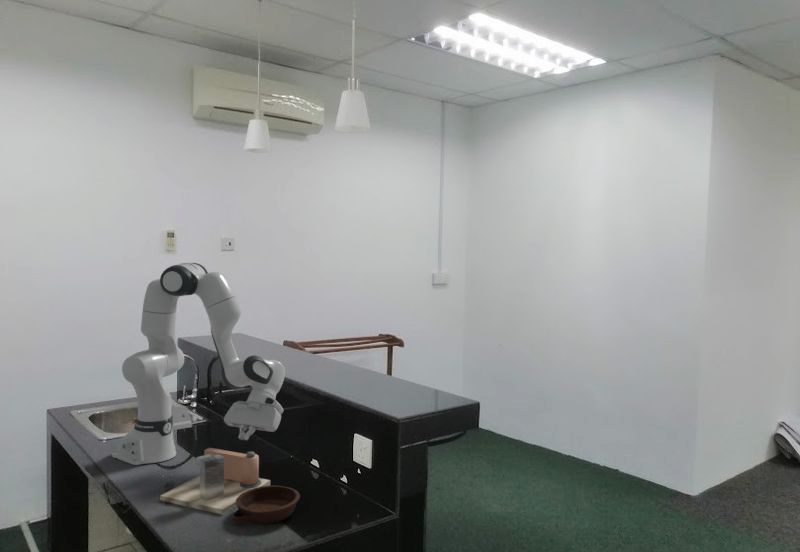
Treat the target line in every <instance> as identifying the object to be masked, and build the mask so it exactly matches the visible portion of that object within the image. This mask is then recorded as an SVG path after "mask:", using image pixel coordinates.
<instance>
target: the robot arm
mask: <svg viewBox="0 0 800 552" xmlns="http://www.w3.org/2000/svg"><path fill="white" fill-rule="evenodd" d="M192 295H196V296H198V297H199V298H200V300H201V302H202V303H203V307H204V308H205V311H206V314H207V316H208V320H209V325H210V334H211V338H212V340H213V344H214V347H215V351H216V353H217V356H218V360H219V363H220V367H221V377H222V381H223V382H224V384H225V386H226V387H227V388H229V389H231V390H234V391H237V390H241V389H243V388H245V387H248V386H250V387H251V388H252V389H251V392H250V393H249V395H248V397H247V400H246V401H243V400H238V401H235V402H233V403H232V405H231V406H230V408H228V410H227V413H226V414H225V415H224V418H223V421H224V423H225V424H226V425H227V426H229V427H233V428H234V427H236V428H239V434H238V436H237V437H238V439H239V440H241V441H249V439H250V437H251V436H252V435H253V434H254V433H255V432H256V430H257V431H263V432H264V431H265V432H270V433H271V432H272V433H274V432H276V431H277V429H278V428H279V425H280V423H281V421H282V420H281V419H282V415H283V412H284V408H283V406H282V405H281V404H280V403H279V402H278V401H277V400H276V396H277V394H278V393H279V392H280V390H281V388H282V385H283V384H284V381H285V377H286V368H285V365H283V364H282V363H281V362H280V361H278V360H276V359H264V358H262V357H261V356H258V355H250V356H246V357H244V358H242V359H240V358H239V357H238V355H237V354H238V353H237V351H236V348H235V345H234V342H233V339H232V333H233V330H234V328H235V326H236V324H237V323H238V321H239V319H240V317H241V307H240V303H239V301H238V299H237V296H236V295H235V292H234V290H233V288H232V286H231V285H230V283H229V281H228V280H227V279H226V277H225V275H224V274H222V273H221V272H218V271H210V272H208V270H207V269H206V267H205V266H203V265H202V264H200V263H196V262H182V263H179V264H174V265H171V266H169V267H167V268H165V270H163V272H162V273H161V275H160V278H158V279H155V280H152V281H150V282H149V283H148V285H147V287H146V291H145V294H144V299H143V302H142V303H143V304H142V314H141V323H140V324H141V325H140V332H141V334H143V336H145V337H146V339H147V342H148V349H146V350H145V349H144V350H142V351H137V352H135V353H134V354H131V355H130V356H128V357H126V358H125V360H124V361H123V363H122V366H121V367H122V368H121V372H122V375H123V378H124V379H125V380H126V381H127V382H128V383H130V385H132V387H133V389H134V391H135V394H136V395H135V396H136V399H137V418H135V419H132V422H131V424H134V426H133V429H131V430H130V431H129V432H128V433H126V434H125V435H124V436H122V437H121V439H120V440H119V441H120V442H119V447H118V449H117V450H115V451H113V452H112V454H111V457H112V458H114V459H116V458H117V460H120V461H122V462H125V463H128V464H130V465H132V466H139V465H144V464H156V463H161V462H165V461H168V460H170V459H171V460H172V458H175V456H177V451H176V448H177V447H176V445H175V441H174V439H175V438H174V432H173V431H174V430H172V426H173V416H172V415H171V406H172V395H171V393H170V392H169V391H168V390H166V389H165V387H164V383H163V378H165V377H168V376H171V375H173V374H175V373H176V372H178V371H179V370H181V368H183V366H184V363H185V354H184V352H183V350H182V349H181V348H180V347H179V346H178V343H177V340H176V320H177V319H176V317H177V316H176V315H177V306H178V300H179V298H180V297H185V296H192ZM245 431H246V432H245Z"/></svg>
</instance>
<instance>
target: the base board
mask: <svg viewBox="0 0 800 552" xmlns="http://www.w3.org/2000/svg"><path fill="white" fill-rule="evenodd" d="M261 486H271V480H270V479H266V478H261V477H259V482H258V483H256V484H253V485H245V484H243V483H242V482H240V481H235V480H230V479H225V478H224V495H221V496H218V497H215V498H212V499H209V500H203V499H202V498H200V475H198V476H196V477H194V478H192V479H190V480H188V481H186V482H183V483H182V484H180V485H178V486H175V488H172V489H171V490H168V491H166V492H164V493H162V494H160V496H159V499H160V501H161V500H163V501H162V502H165V501H166V502H165V503H169V502H170V504H173V505H178V506H183V507H186V508H187V507H188V508H192V509H196V510H200V511H205V512H209V513H214V514H219V515H221V516H222V515H225V514H227V513H228V512H229V511H231V510H233V509H235V508H236V507H237V505H236V499H237V497H238V496H239V495H241V494H242V493H244V492H246V491H248V490H250V489H253V488H257V487H261Z"/></svg>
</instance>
